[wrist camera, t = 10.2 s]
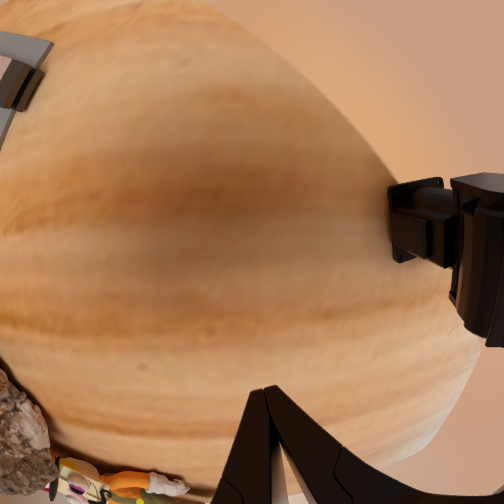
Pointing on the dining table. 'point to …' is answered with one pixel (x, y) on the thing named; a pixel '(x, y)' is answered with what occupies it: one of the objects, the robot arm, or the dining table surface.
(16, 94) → the layered block
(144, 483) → the toy
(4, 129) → the mat
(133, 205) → the dining table surface
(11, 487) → the rock
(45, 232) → the dining table surface
